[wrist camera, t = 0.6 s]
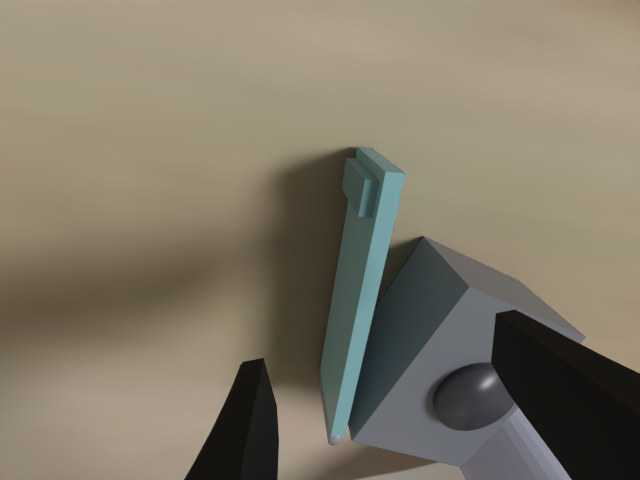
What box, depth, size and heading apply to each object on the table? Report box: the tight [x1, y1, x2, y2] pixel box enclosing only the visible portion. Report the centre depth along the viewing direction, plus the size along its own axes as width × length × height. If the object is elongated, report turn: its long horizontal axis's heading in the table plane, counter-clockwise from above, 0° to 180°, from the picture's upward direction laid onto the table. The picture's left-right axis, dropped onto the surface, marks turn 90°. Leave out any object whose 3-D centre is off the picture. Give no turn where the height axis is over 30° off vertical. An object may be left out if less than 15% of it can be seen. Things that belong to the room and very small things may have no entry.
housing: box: [348, 236, 586, 467], centre depth 21 cm, size 8×11×6 cm
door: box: [318, 147, 406, 445], centre depth 19 cm, size 1×16×5 cm, turn 173°
